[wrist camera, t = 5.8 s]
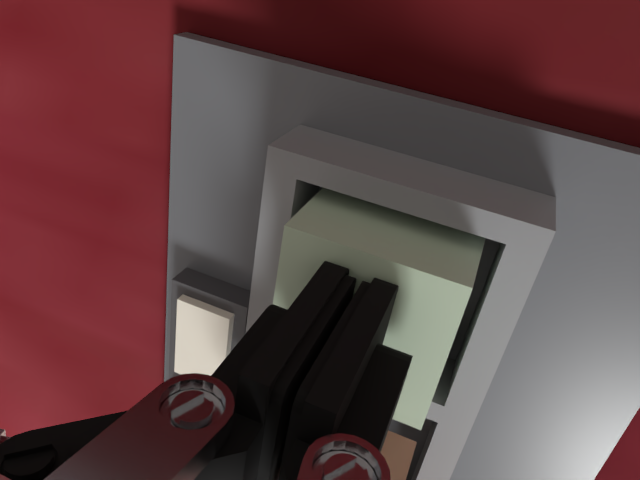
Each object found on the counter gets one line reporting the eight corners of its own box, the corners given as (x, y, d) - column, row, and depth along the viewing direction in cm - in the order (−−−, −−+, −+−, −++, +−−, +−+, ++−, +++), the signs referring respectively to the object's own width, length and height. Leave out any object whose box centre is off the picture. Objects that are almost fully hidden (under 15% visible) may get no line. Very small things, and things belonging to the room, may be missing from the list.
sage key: (486, 234, 13) (472, 288, 11) (440, 364, 15) (421, 430, 13) (325, 184, 14) (284, 225, 12) (302, 312, 16) (263, 367, 14)
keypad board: (766, 180, 12) (811, 228, 10) (444, 705, 24) (433, 776, 22) (186, 32, 15) (126, 43, 13) (165, 561, 27) (133, 610, 25)
